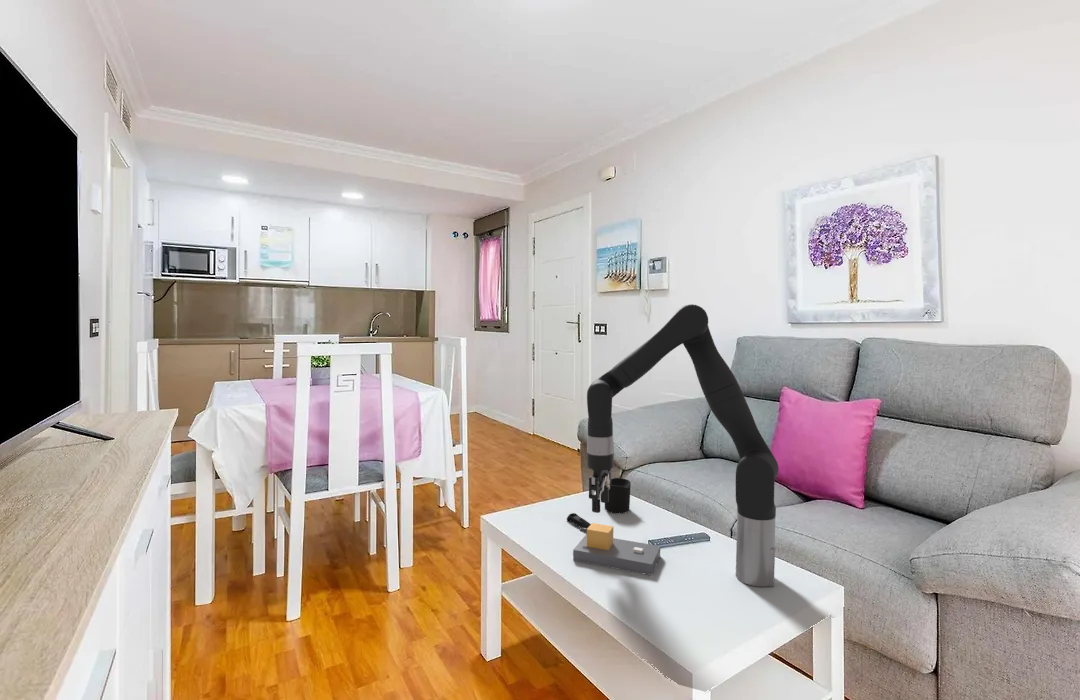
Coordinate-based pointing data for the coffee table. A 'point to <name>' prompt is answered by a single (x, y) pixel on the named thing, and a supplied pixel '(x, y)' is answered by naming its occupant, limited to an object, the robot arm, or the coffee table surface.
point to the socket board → (620, 555)
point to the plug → (599, 536)
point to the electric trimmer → (578, 520)
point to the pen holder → (619, 496)
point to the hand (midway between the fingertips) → (600, 507)
